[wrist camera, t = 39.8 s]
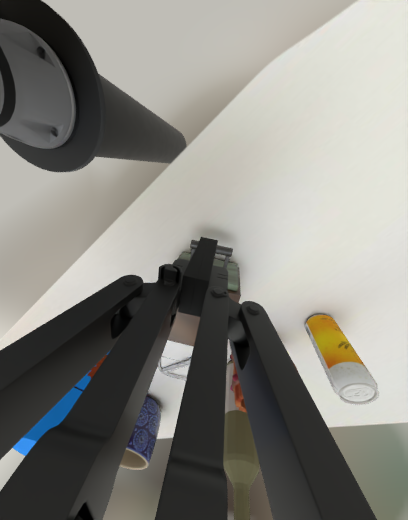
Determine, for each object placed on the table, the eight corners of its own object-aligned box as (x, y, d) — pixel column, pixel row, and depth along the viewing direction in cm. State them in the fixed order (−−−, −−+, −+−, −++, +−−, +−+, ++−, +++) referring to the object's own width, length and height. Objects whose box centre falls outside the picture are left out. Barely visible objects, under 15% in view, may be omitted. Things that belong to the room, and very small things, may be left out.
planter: (113, 392, 68) (84, 446, 55) (147, 385, 63) (124, 442, 50) (140, 416, 73) (120, 470, 60) (173, 411, 68) (159, 469, 55)
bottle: (256, 366, 51) (281, 583, 24) (238, 376, 54) (243, 578, 27) (238, 353, 50) (243, 566, 23) (220, 364, 53) (207, 564, 26)
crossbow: (175, 378, 60) (173, 385, 58) (149, 355, 57) (146, 361, 55) (215, 368, 53) (214, 375, 52) (188, 341, 50) (186, 347, 48)
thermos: (109, 346, 56) (28, 461, 34) (96, 319, 52) (-7, 432, 30) (142, 347, 54) (78, 470, 32) (131, 319, 50) (49, 441, 28)
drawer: (185, 229, 35) (174, 243, 28) (244, 241, 35) (247, 259, 28) (176, 302, 44) (165, 327, 37) (223, 313, 43) (221, 341, 36)
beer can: (335, 329, 42) (383, 404, 28) (307, 334, 43) (339, 407, 30) (331, 309, 40) (381, 380, 26) (301, 315, 41) (333, 385, 28)
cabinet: (180, 254, 39) (165, 278, 30) (239, 267, 38) (240, 295, 30) (173, 306, 46) (160, 338, 37) (223, 318, 45) (221, 353, 36)
